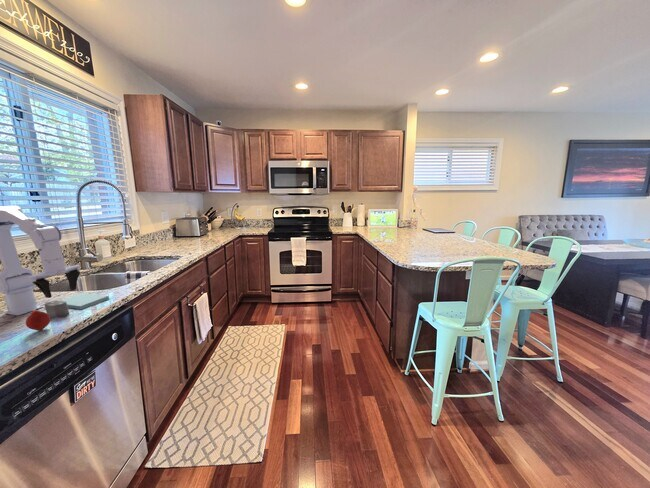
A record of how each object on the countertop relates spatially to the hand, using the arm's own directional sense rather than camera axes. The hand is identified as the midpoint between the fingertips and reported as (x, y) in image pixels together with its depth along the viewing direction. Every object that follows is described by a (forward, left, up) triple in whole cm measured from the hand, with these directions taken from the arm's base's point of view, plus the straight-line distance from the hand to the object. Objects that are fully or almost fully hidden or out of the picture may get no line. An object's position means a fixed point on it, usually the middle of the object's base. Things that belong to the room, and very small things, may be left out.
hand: (61, 293), depth 100 cm
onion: (+3, -9, -10) cm, 14 cm away
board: (-12, +12, -10) cm, 20 cm away
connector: (-9, +1, -10) cm, 13 cm away
